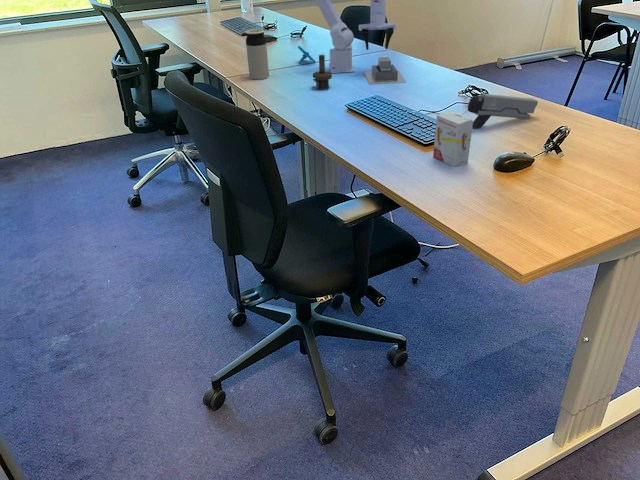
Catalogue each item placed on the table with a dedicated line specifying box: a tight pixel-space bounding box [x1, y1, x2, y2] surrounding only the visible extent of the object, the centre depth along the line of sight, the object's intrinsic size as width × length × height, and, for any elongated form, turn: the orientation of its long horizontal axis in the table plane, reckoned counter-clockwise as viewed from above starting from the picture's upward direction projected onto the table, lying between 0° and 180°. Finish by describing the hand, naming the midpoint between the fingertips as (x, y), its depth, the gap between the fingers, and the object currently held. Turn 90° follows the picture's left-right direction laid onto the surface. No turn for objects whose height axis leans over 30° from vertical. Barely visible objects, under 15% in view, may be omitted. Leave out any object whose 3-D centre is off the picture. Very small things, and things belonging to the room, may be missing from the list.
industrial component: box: [312, 54, 333, 90], centre depth 193 cm, size 9×7×12 cm
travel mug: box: [245, 28, 270, 80], centre depth 207 cm, size 8×8×18 cm
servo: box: [377, 55, 392, 72], centre depth 202 cm, size 4×10×7 cm, turn 3°
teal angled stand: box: [297, 45, 316, 64], centre depth 228 cm, size 11×6×10 cm
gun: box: [467, 93, 539, 130], centre depth 156 cm, size 2×25×10 cm, turn 112°
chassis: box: [363, 64, 406, 85], centre depth 204 cm, size 14×16×4 cm
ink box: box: [432, 110, 474, 168], centre depth 133 cm, size 9×5×12 cm, turn 31°
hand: (376, 48), depth 206 cm, fingers open, 7 cm apart
